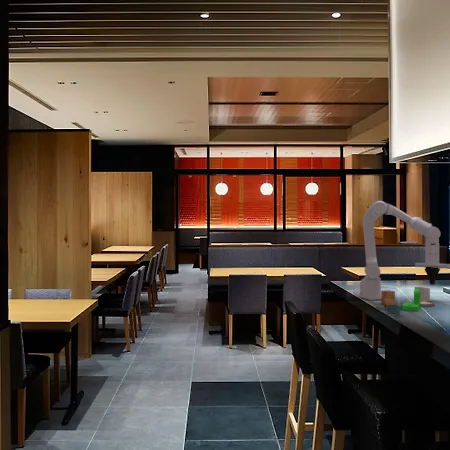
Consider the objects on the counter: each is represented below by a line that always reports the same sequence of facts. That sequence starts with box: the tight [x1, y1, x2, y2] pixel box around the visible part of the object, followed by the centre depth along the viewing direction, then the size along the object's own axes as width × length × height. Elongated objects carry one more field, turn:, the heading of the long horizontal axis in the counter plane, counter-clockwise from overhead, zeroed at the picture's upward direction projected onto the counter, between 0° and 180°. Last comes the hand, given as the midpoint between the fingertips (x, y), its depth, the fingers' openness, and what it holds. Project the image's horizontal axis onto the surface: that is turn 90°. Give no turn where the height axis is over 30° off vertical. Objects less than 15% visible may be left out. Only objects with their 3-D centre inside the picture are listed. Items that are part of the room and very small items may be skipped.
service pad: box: [420, 301, 436, 308], centre depth 215 cm, size 8×6×1 cm
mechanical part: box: [401, 288, 421, 312], centre depth 207 cm, size 12×6×8 cm, turn 154°
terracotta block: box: [380, 289, 396, 307], centre depth 216 cm, size 4×4×6 cm
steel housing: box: [414, 286, 432, 303], centre depth 223 cm, size 7×4×6 cm, turn 19°
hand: (432, 284), depth 225 cm, fingers closed
